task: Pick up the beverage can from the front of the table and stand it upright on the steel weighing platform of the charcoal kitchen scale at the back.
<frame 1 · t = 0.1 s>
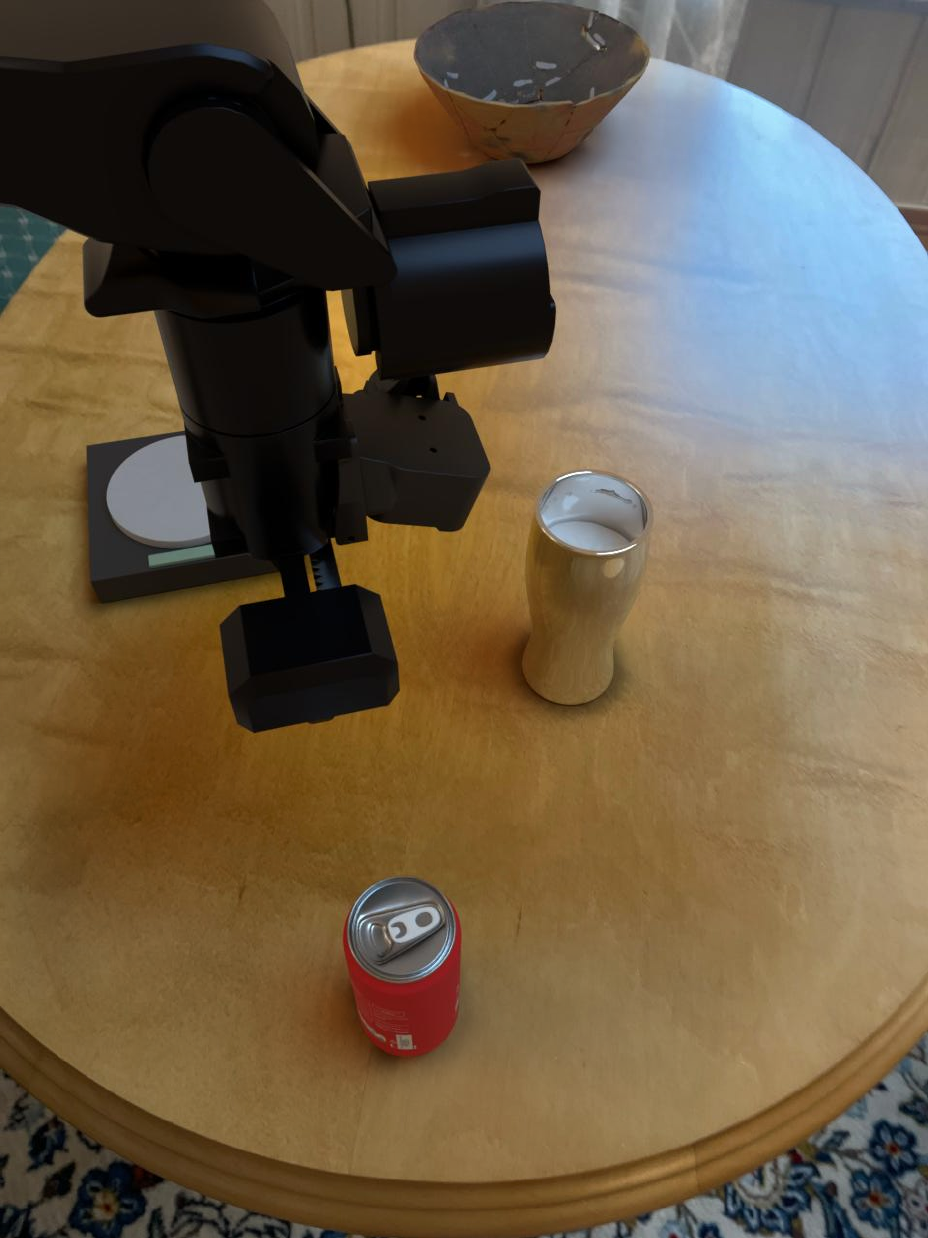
hand: (306, 641, 47), 15 cm above the table, tool pointing down, fingers open, 9 cm apart
bowl: (524, 143, 110), on the table
beer glass: (566, 669, 65), on the table
beverage can: (409, 1011, 51), on the table
scale: (193, 515, 73), on the table
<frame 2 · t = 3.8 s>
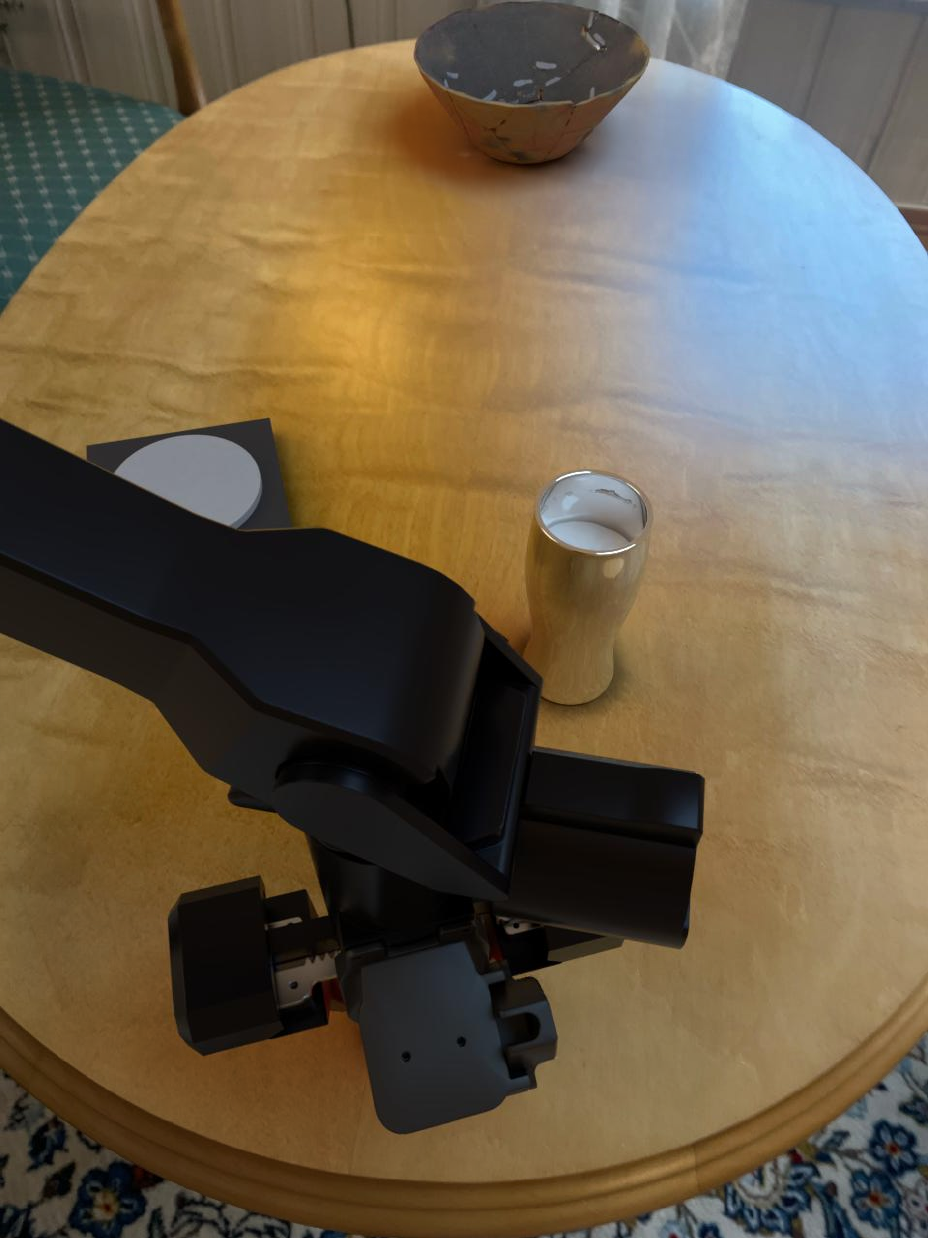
hand: (411, 983, 47), 5 cm above the table, tool pointing down, fingers closed on beverage can, 6 cm apart
beverage can: (409, 1010, 51), on the table, touching gripper
everything else where it was.
when the fingers open (8 cm above the table, at t = 9.6 s): beverage can stays where it is, resting on scale.
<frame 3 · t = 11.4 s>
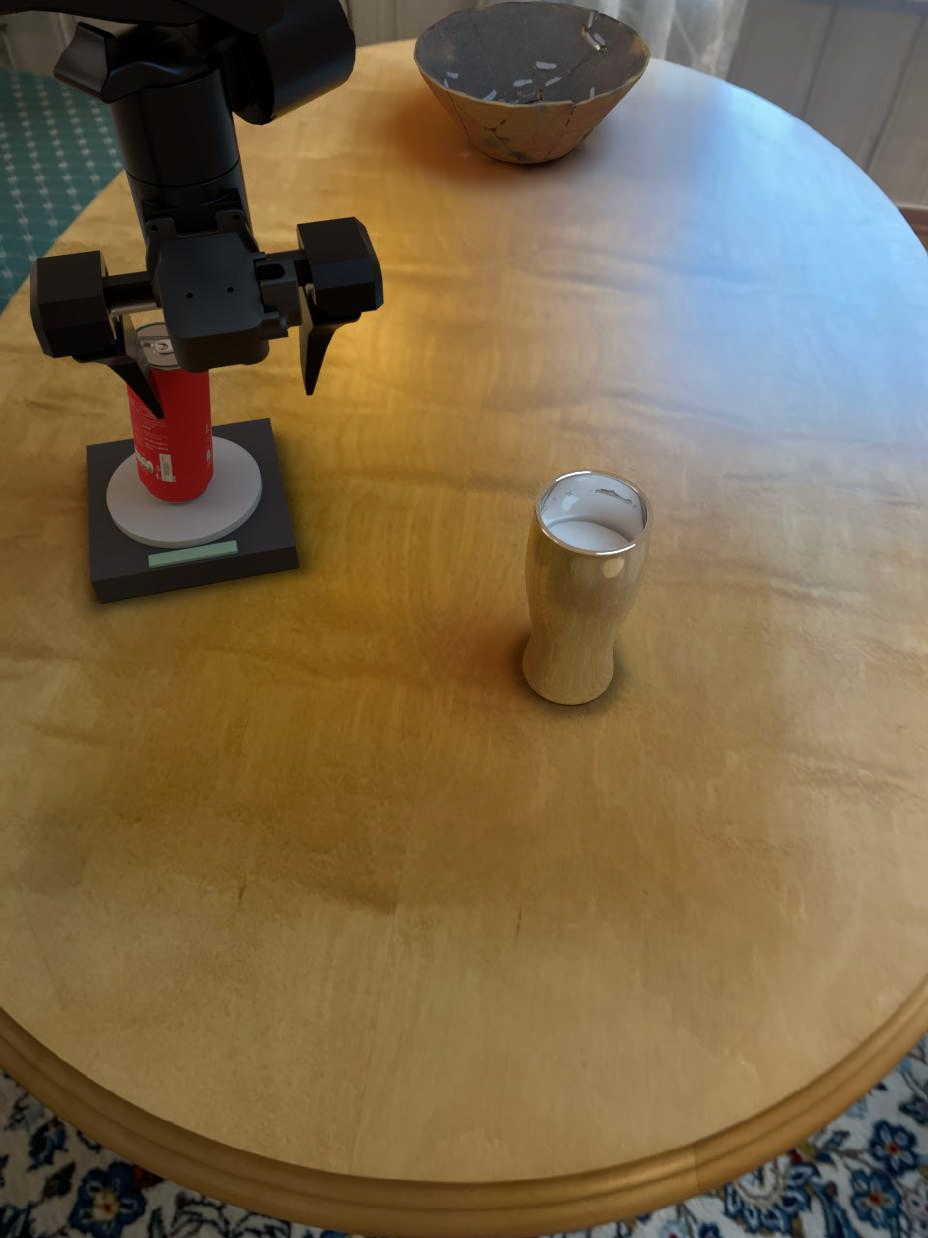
hand: (236, 403, 61), 13 cm above the table, tool pointing down, fingers open, 9 cm apart
beverage can: (177, 483, 70), point 3 cm above the table, touching scale
everything else where it was.
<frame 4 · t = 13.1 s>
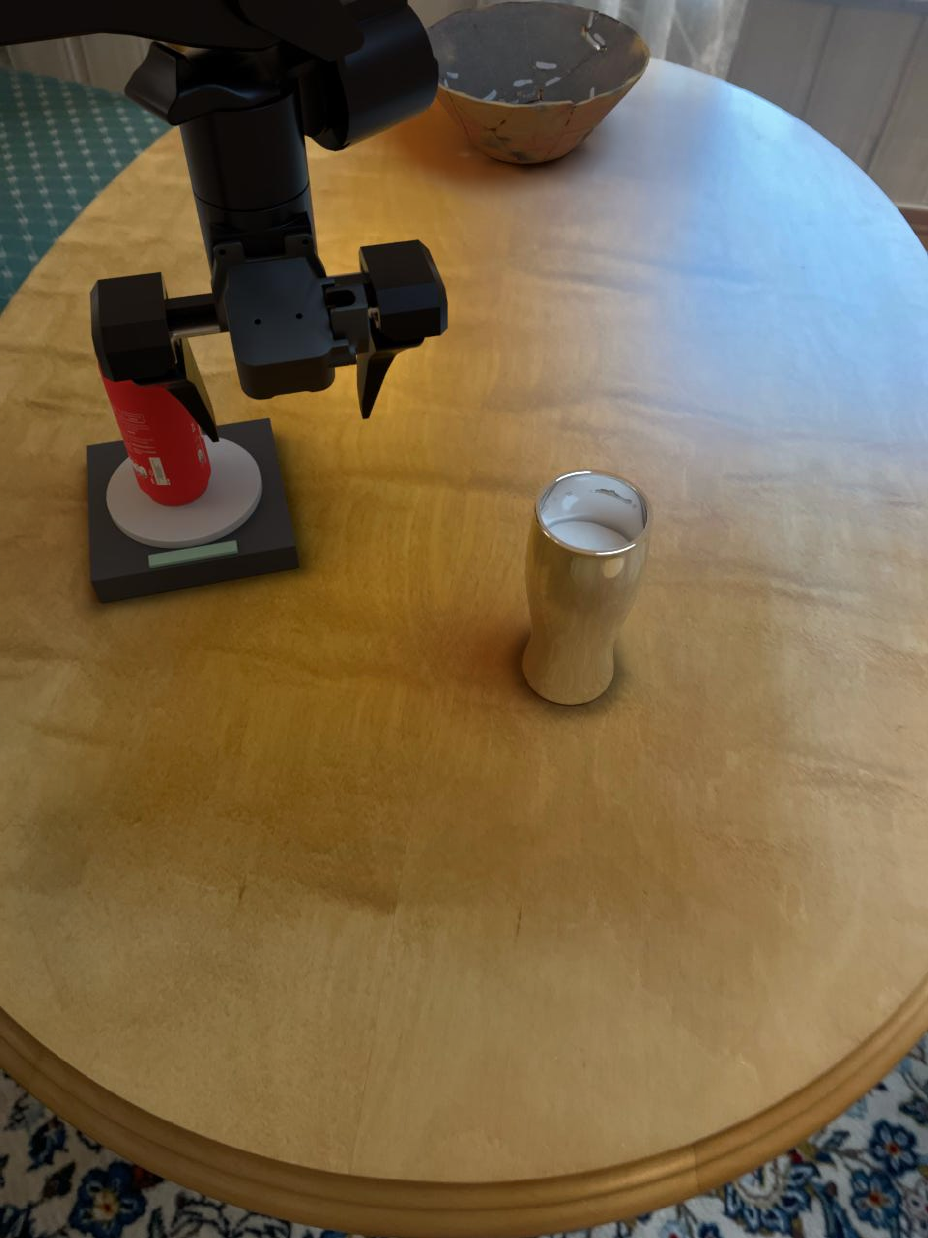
hand: (291, 426, 60), 13 cm above the table, tool pointing down, fingers open, 9 cm apart
at the end: beverage can inside the target area on the scale (0.4 cm from its centre), point 3.0 cm above the scale's base; beverage can tilted 0°; the gripper is holding nothing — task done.
